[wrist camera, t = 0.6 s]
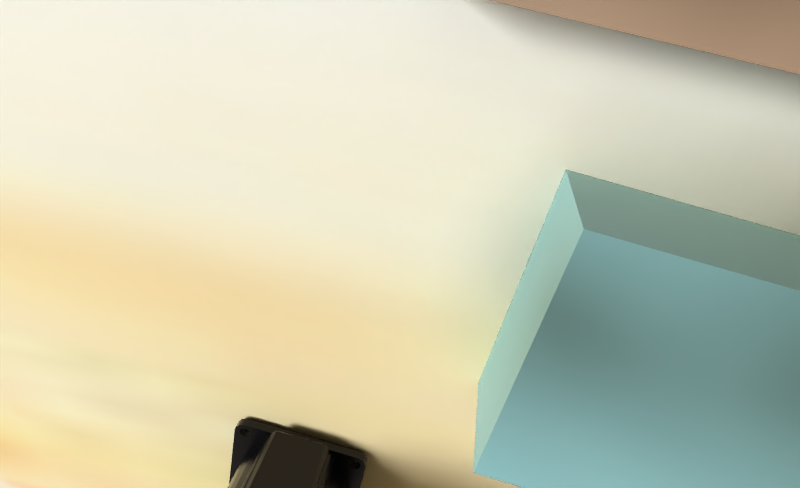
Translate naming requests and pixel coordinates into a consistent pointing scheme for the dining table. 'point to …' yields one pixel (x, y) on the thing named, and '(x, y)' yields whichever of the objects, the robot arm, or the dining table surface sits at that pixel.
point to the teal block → (646, 350)
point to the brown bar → (696, 24)
